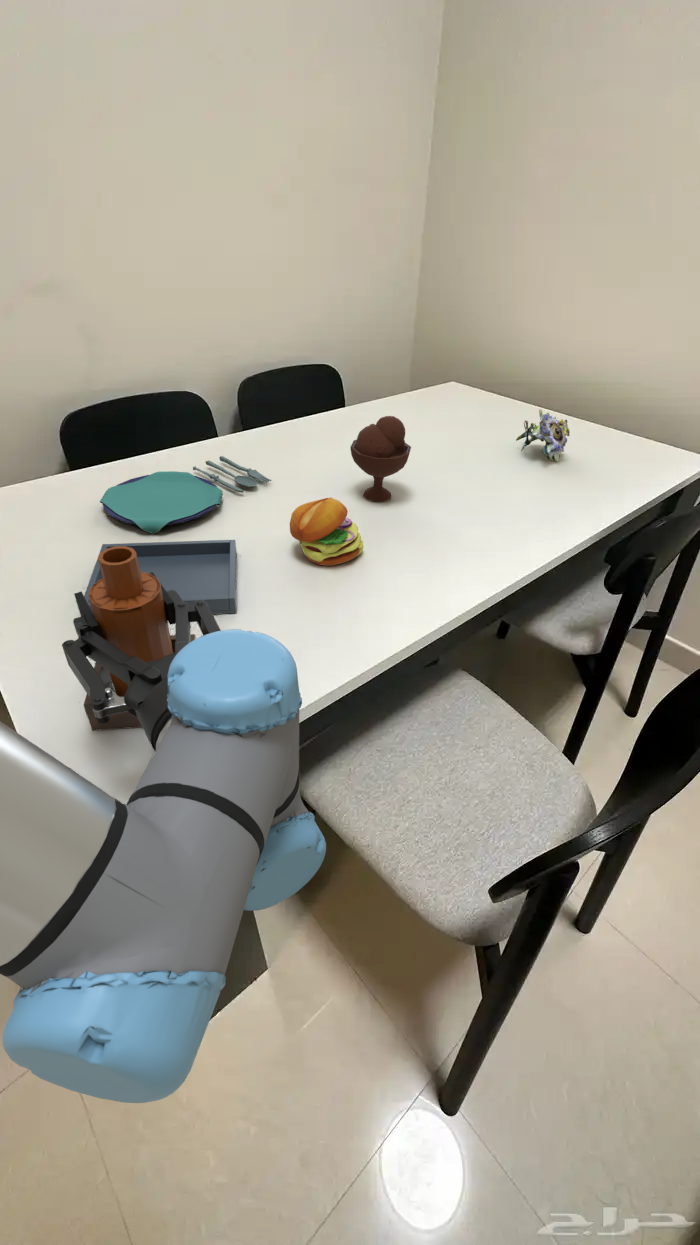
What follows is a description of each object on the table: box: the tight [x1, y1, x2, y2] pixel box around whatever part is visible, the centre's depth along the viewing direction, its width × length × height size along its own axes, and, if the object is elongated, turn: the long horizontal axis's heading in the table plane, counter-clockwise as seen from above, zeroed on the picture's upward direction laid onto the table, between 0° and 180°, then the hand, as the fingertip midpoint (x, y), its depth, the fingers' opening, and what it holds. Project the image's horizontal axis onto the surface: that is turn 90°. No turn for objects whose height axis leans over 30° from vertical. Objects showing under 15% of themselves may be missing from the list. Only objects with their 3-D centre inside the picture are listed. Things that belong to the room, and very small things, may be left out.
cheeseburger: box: [289, 497, 364, 566], centre depth 90 cm, size 10×11×10 cm
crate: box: [83, 633, 197, 731], centre depth 66 cm, size 11×11×4 cm
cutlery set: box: [99, 455, 273, 535], centre depth 105 cm, size 20×30×2 cm, turn 139°
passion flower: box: [515, 409, 571, 463], centre depth 128 cm, size 11×11×12 cm
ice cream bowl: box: [349, 415, 412, 503], centre depth 105 cm, size 11×11×15 cm
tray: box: [83, 539, 238, 616], centre depth 83 cm, size 20×16×3 cm
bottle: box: [88, 546, 173, 697], centre depth 61 cm, size 7×7×17 cm
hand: (117, 592), depth 63 cm, fingers closed on bottle, 7 cm apart
